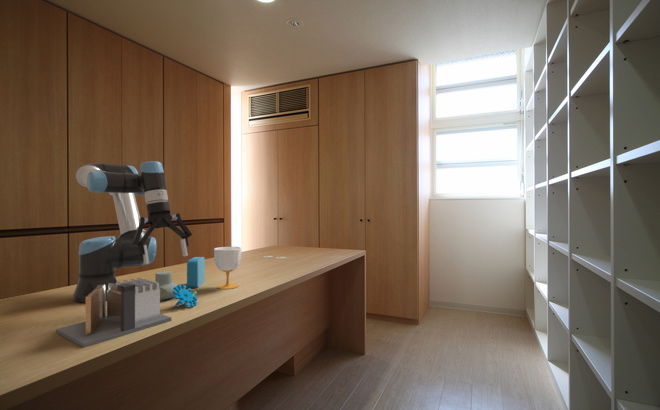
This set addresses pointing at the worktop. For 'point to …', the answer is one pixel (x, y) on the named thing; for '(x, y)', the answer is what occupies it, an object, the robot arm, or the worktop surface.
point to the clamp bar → (95, 307)
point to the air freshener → (165, 284)
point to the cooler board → (111, 322)
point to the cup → (227, 262)
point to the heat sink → (144, 300)
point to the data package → (195, 272)
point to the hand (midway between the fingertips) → (167, 259)
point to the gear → (185, 296)
